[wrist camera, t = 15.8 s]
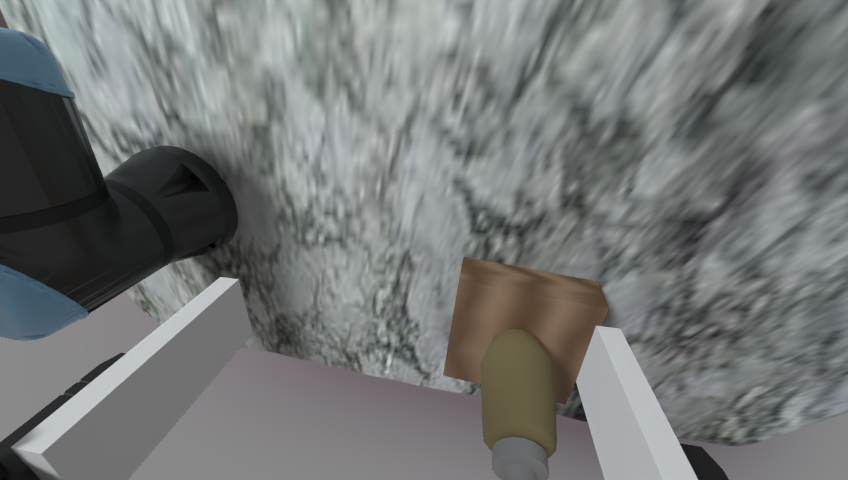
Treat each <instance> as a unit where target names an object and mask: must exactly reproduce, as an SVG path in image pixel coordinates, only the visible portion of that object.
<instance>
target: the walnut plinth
mask: <svg viewBox="0 0 848 480" xmlns="http://www.w3.org/2000/svg"><path fill="white" fill-rule="evenodd" d="M608 311H609V307H608V305H607V302H606V300H605V297H604V295H603V293H602V290H601V288H600V285H599V283H598V282H596V281H591V280H585V279H580V278H575V277H569V276H564V275H558V274H553V273H547V272H542V271H537V270H531V269H526V268H520V267H515V266H510V265H504V264H499V263H493V262H488V261H482V260H477V259H472V258H466V257H464V260H463V264H462V269H461V274H460V279H459V284H458V290H457V296H456V302H455V308H454V314H453V320H452V326H451V332H450V338H449V344H448V350H447V356H446V362H445V368H444V374H443V375H444V376H448V377H453V378H457V379H461V380H465V381H470V382H474V383H478V384H481V369H480V362H481V360H482V358H483V356H484V354H485V353H486V351H487V349H488V347H489V345H490V343H491V342H492V340H493V338H494V336H495V335H497V334H498V333H500V332H501V331H504V330H508V329H522V330H525V331H527V332H530V333H532V334H533V335H534V336H536V337H537V338H538V340H539V341H540V343H541V345H542V346H543V348H544V349H545V351H546V353H547V354H548V356H549V358H550V360H551V361H552V363H553V365H554V367H555V393H556V402H558V403H562V404H566V401H567V399H568V397H569V395H570V393H571V391H572V388H573V386H574V384H575V382H576V380H577V377H578V374H579V372H580V369H581V366H582V363H583V361H584V358H585V355H586V352H587V350H588V347H589V344H590V341H591V339H592V336H593V333H594V330H595V328H596V326H602V324H603V321H604V319H605V317H606V315H607V313H608Z"/></svg>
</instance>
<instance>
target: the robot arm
mask: <svg viewBox="0 0 848 480" xmlns="http://www.w3.org/2000/svg"><path fill="white" fill-rule="evenodd" d="M73 98H75V95H74V93H73V92H72V91H70V90H69V88H68V86H67V83H66V81H65V79H64V77H63V75H62V73H61V71H60V68H59V66H58V64H57V61H56V59H55V57H54V55H53V54H52V52H51V51H50V50H49V49H48V48H47V46H45V45H44V44H43V43H42V42H41V41H39V40H38V39H36V38H34V37H33V36H31V35H28V34H26V33H23V32H20V31H16V30H12V29H6V28H0V336H1V337H5V338H8V339H13V340H23V341H27V340H37V339H41V338H44V337H47V336H49V335H51V334H53V333H55V332H56V331H58V330H60V329H62V328H64V327H66V326H68V325H70V324H72V323H73V322H75V321H77V320H79V319H83V318H86V317H87V316H88V315H89V313H90V312H92V311H94V310H96V309H97V308H99V307H100V306H102V305H103V304H105V303H107V302H108V301H110V300H111V299H113V298H115V297H116V296H118V295H119V294H121V293H123V292H124V291H126V290H127V289H129V288H130V287H132V286H134V285H135V284H137V283H138V282H140V281H142V280H143V279H145V278H147V277H148V276H150V275H151V274H153V273H155V272H156V271H158V270H159V269H161V268H162V267H164V266H166V265H168V264H169V263H172V262H176V261H180V260H184V259H188V258H192V257H196V256H200V255H204V254H208V253H211V252H213V251H215V250H217V249H218V248H220V247H221V246H223V245H224V244H226V243H227V242H228V241H229V240H230V239H231V238H232V237H233V235H234V233H235V230H236V227H237V212H236V207H235V203H234V200H233V198H232V196H231V193H230V192H229V190H228V188H227V186H226V185H225V183H224V182H223V180H222V179H221V178H220V176H219V175H218V174H217V173H216V172H215V171H214V170H213V169H212V168H211V167H210V166H209V165H208V164H207V163H206V162H204V161H203V160H202V159H200V158H199V157H197V156H196V155H194V154H192V153H190V152H189V151H186V150H184V149H181V148H178V147H173V146H159V147H155V148H151V149H147V150H144V151H141V152H139V153H136V154H135V155H133V156H132V157H131V158H129V159H128V160H127V161H125V162H124V163H123V164H121V165H120V166H119V167H117V168H116V169H115V170H113V171H112V172H111V173H109V174H108V175H107V176H106V177H104V178H103V175H102V173H101V170H100V168H99V165H98V163H97V160H96V157H95V155H94V152H93V150H92V147H91V145H90V142H89V139H88V137H87V134H86V131H85V129H84V126H83V123H82V120H81V118H80V115H79V112H78V110H77V107H76V104H75V101H74V99H73ZM252 334H253V332H252V328H251V324H250V320H249V316H248V313H247V309H246V305H245V301H244V297H243V293H242V290H241V286H240V282H239V279H233V278H225V277H220V278H219V279H217V280H216V281H215V282H214V283H212V284H211V285H210V286H209V287H207V288H206V289H205V290H204V291H203V292H201V293H200V294H199V295H198V296H196V297H195V298H194V299H193V300H191V301H190V302H189V303H188V304H187V305H185V306H184V307H183V308H182V309H180V310H179V311H178V312H177V313H175V314H174V315H173V316H172V317H171V318H169V319H168V320H167V321H166V322H164V323H163V324H162V325H161V326H159V327H158V328H157V329H156V330H155V331H153V332H152V333H151V334H150V335H148V336H147V337H146V338H145V339H144V340H142V341H141V342H140V343H139V344H137V345H136V346H135V347H134V348H133V349H131V350H130V351H129V352H127V353H126V354H125V353H120V354H118V355H117V356H115V357H113V358H111V359H109V360H108V361H105V362H103V363H102V364H100V365H99V366H97V367H96V368H95V369H93V370H92V371H91V372H90V373H88V374H87V375H86V376H84V377H83V378H82V379H81V381H80V382H79V383H76V384H74V385H73V386H72V387H70V388H69V389H68V390H66V391H65V393H64V395H60V396H59V397H58V398H56V399H55V400H54V401H52V402H51V403H50V404H49V405H47V406H46V407H45V408H44V409H42V410H41V411H40V412H38V413H37V414H36V415H35V416H33V417H32V418H31V419H30V420H28V421H27V422H26V423H24V424H23V425H22V426H21V427H19V428H18V429H17V430H16V431H14V432H13V433H12V434H10V435H9V436H8V437H7V438H5V439H4V440H3V441H2V442H0V480H128V479H129V478H130V477H131V476H132V475H133V473H134V472H135V471H136V470H137V469H138V467H139V466H140V465H141V464H142V463H143V462H144V460H145V459H146V458H147V457H148V456H149V455H150V453H151V452H152V451H153V450H154V449H155V447H156V446H157V445H158V444H159V443H160V442H161V440H162V439H163V438H164V437H165V436H166V435H167V433H168V432H169V431H170V430H171V428H173V426H174V425H175V424H176V423H177V422H178V420H179V419H180V418H181V417H182V416H183V415H184V414H185V412H186V411H187V410H188V409H189V408H190V407H191V405H192V404H193V403H194V402H195V401H196V399H197V398H198V397H199V396H200V395H201V394H202V392H203V391H204V390H205V389H206V388H207V386H208V385H209V384H210V383H211V382H212V381H213V379H214V378H215V377H216V376H217V375H218V374H219V372H220V371H221V370H222V369H223V368H224V367H225V365H226V364H227V363H228V362H229V361H230V360H231V358H232V357H233V356H234V355H235V354H236V353H237V351H238V350H239V349H240V348H241V347H242V346H243V344H244V343H245V342H246V341H247V340H248V339H249V337H250V336H251V335H252ZM576 383H577V387H578V390H579V394H580V397H581V401H582V404H583V407H584V411H585V414H586V418H587V421H588V424H589V428H590V431H591V435H592V438H593V442H594V445H595V448H596V452H597V455H598V458H599V462H600V465H601V469H602V472H603V476H604V479H605V480H728V478H727V476H726V474H725V473H724V471H723V469H722V468H721V467H720V466H719V465H718V464H717V463H716V462H715V461H714V460H713V459H712V458H711V457H710V456H709V455H708V453H707V452H706V451H705V450H704V449H703V448H702V447H698V446H692V445H686V444H680V443H679V442H678V440H677V438H676V436H675V434H674V432H673V430H672V428H671V426H670V424H669V422H668V420H667V418H666V416H665V415H664V413H663V411H662V409H661V407H660V405H659V403H658V401H657V399H656V397H655V395H654V393H653V391H652V389H651V388H650V386H649V384H648V382H647V380H646V378H645V376H644V374H643V372H642V370H641V368H640V366H639V364H638V362H637V360H636V359H635V357H634V355H633V353H632V351H631V349H630V347H629V345H628V343H627V341H626V339H625V337H624V335H623V333H622V331H621V330H620V329H619V328H611V327H603V326H596V328H595V330H594V333H593V336H592V339H591V341H590V344H589V347H588V350H587V352H586V355H585V358H584V361H583V363H582V366H581V369H580V372H579V374H578V377H577V380H576Z"/></svg>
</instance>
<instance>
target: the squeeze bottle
mask: <svg viewBox="0 0 848 480" xmlns="http://www.w3.org/2000/svg"><path fill="white" fill-rule="evenodd" d="M480 369H481V394H482V419H483V437H484V442H485V443H486V445H487V446H488V448H489V449H490V450H491V451H492V469H493V471H494V473H495V474H496V475H497V477H499V478H500V479H502V480H547V479H548V478H549V477H548V476H549V469H548V458H549V457H550V456H551V455H552V454H553V453H554V452H555V450H556V441H557V437H556V393H555V367H554V365H553V363H552V361H551V360H550V358H549V356H548V354H547V353H546V351H545V349H544V348H543V346H542V345H541V343H540V341H539V340H538V338H537V337H536V336H534V335H533V334H532V333H530V332H527V331H525V330H522V329H508V330H504V331H501V332H500V333H498V334H497V335H495V336H494V338H493V340H492V342H491V343H490V345H489V347H488V349H487V351H486V353H485V354H484V356H483V358H482V360H481V362H480Z"/></svg>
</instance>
